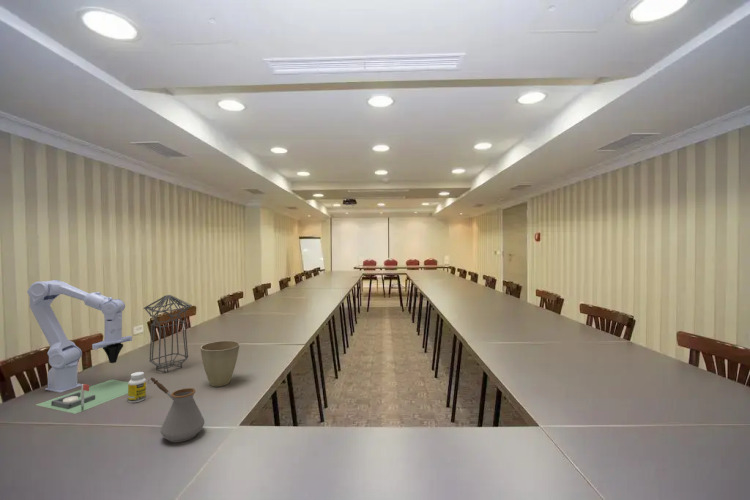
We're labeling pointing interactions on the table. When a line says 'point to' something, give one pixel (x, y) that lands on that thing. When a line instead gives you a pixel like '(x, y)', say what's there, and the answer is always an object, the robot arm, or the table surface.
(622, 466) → the table surface
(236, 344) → the plant pot
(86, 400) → the grey frame
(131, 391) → the supplement bottle
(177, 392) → the coffee pot
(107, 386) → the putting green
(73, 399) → the stone
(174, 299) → the geometric lantern
